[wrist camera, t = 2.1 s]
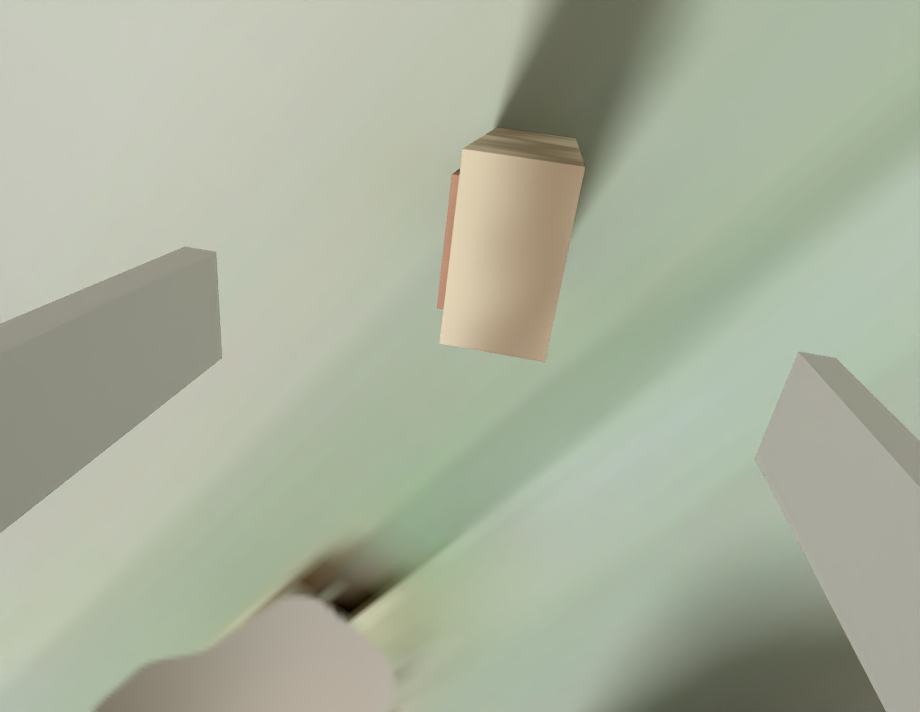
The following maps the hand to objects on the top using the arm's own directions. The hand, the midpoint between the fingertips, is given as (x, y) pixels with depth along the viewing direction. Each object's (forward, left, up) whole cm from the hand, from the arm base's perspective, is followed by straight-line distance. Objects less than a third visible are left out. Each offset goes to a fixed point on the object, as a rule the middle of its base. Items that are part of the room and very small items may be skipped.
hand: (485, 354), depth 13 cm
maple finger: (0, 0, -20) cm, 20 cm away
